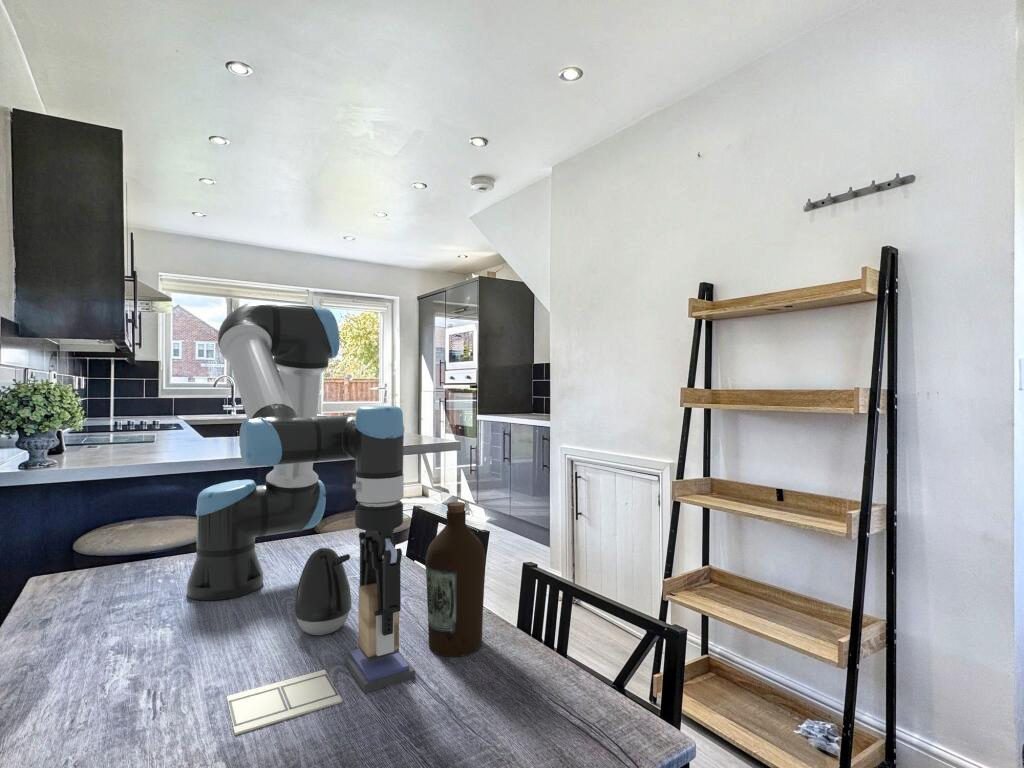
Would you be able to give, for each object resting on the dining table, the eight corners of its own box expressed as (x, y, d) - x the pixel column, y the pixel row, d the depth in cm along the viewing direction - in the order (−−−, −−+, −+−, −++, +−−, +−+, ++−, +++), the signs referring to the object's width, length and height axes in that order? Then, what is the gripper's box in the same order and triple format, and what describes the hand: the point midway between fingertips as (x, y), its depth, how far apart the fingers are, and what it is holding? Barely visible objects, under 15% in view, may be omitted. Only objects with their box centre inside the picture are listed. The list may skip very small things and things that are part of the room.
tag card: (226, 698, 80) (226, 695, 80) (324, 671, 88) (324, 669, 88) (234, 735, 72) (234, 732, 72) (342, 702, 80) (342, 699, 80)
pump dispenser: (335, 644, 97) (335, 558, 97) (282, 638, 99) (282, 554, 99) (362, 620, 107) (362, 542, 107) (313, 615, 109) (314, 538, 109)
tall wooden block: (387, 640, 92) (388, 580, 92) (398, 652, 88) (399, 590, 88) (358, 647, 89) (358, 586, 89) (368, 660, 85) (368, 596, 85)
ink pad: (343, 661, 91) (343, 650, 91) (390, 648, 95) (390, 638, 95) (365, 693, 82) (365, 681, 82) (415, 677, 86) (415, 666, 86)
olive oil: (453, 625, 105) (454, 495, 105) (497, 641, 99) (498, 502, 98) (412, 647, 96) (413, 504, 96) (457, 665, 90) (458, 513, 90)
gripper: (340, 494, 94) (339, 630, 94) (375, 515, 79) (374, 677, 79) (382, 490, 98) (381, 619, 98) (423, 509, 83) (423, 663, 83)
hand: (378, 645), depth 89 cm, fingers closed on tall wooden block, 5 cm apart
